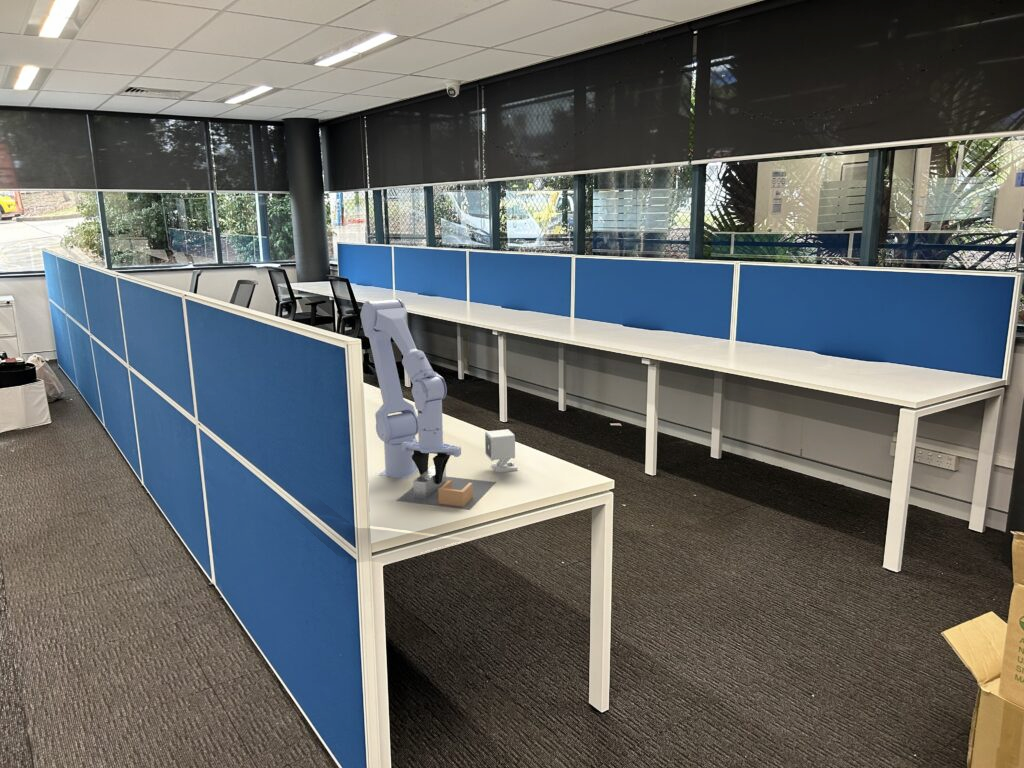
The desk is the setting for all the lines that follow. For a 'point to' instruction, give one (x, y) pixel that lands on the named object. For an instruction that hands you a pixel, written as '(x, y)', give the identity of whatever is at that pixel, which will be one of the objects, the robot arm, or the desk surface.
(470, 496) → the tan notched holder
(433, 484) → the aluminium rail
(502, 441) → the security camera
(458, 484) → the mat
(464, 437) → the desk surface
